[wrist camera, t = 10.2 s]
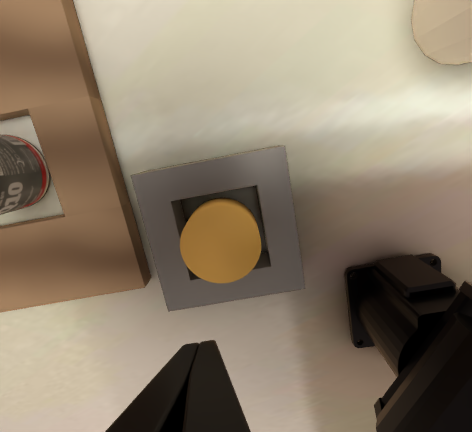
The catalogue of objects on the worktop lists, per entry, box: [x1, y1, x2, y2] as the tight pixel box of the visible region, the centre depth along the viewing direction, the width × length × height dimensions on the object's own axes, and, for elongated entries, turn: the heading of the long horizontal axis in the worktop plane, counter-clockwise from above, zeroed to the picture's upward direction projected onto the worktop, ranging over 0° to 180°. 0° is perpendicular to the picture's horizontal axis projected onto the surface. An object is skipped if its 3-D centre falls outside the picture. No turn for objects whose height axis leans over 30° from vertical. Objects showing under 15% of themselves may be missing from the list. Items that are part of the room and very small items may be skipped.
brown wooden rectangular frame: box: [0, 0, 151, 312], centre depth 18 cm, size 18×14×2 cm
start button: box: [180, 198, 261, 283], centre depth 17 cm, size 4×4×2 cm
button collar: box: [131, 146, 305, 312], centre depth 19 cm, size 9×9×2 cm
